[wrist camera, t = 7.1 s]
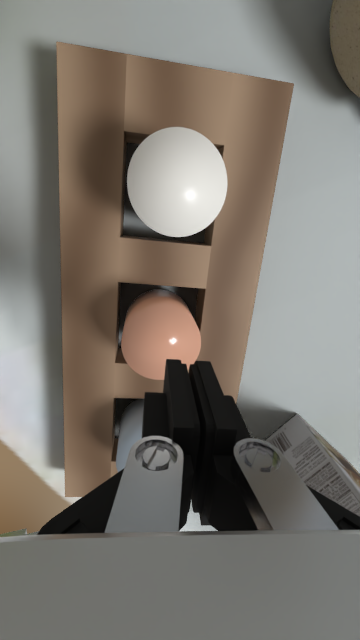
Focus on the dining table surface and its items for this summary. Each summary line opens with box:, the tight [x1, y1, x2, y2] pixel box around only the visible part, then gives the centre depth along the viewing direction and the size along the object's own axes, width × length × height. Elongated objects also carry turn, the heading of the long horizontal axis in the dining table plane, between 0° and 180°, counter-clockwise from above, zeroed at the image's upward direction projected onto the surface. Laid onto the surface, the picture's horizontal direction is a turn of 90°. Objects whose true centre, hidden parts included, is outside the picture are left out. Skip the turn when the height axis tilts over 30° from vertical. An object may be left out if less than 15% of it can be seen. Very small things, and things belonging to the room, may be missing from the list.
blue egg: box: [116, 398, 144, 472], centre depth 21 cm, size 4×4×4 cm
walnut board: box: [56, 42, 294, 497], centre depth 21 cm, size 12×28×2 cm, turn 174°
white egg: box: [127, 127, 227, 237], centre depth 15 cm, size 4×4×4 cm
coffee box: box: [265, 414, 360, 516], centre depth 20 cm, size 9×6×16 cm
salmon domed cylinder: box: [121, 289, 201, 380], centre depth 19 cm, size 4×4×4 cm
